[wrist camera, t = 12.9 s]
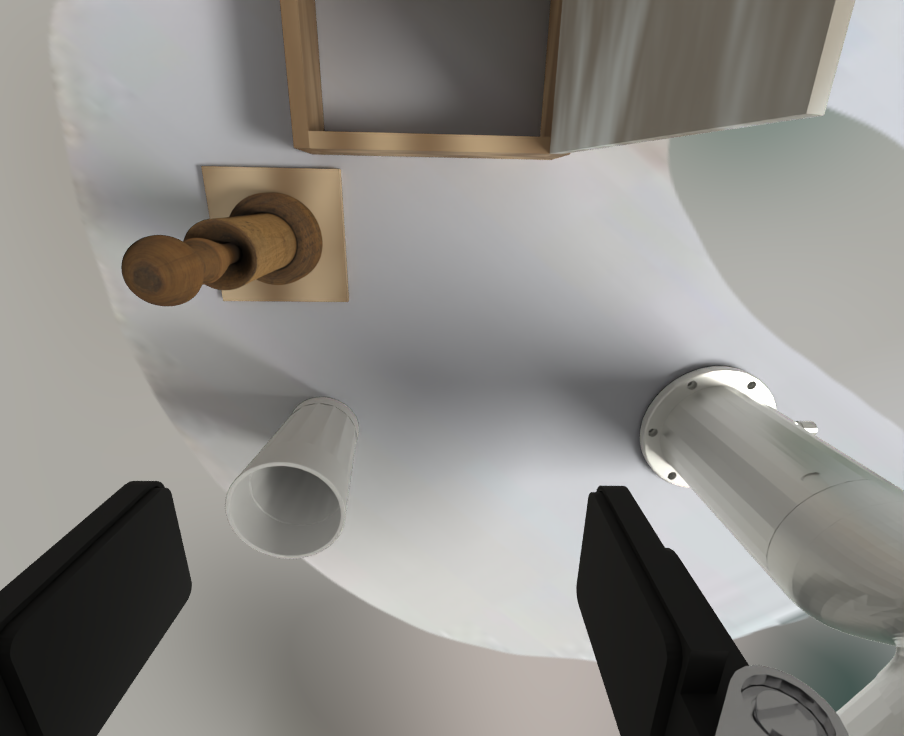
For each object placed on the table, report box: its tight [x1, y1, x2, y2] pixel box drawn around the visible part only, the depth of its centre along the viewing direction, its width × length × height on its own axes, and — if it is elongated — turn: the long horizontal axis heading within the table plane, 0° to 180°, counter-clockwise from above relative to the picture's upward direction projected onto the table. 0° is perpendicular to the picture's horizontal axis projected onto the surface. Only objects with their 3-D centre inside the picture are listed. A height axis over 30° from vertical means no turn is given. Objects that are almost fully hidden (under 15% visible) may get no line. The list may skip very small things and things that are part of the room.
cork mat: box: [201, 166, 349, 302], centre depth 36 cm, size 10×10×1 cm
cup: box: [225, 397, 359, 559], centre depth 36 cm, size 8×8×12 cm
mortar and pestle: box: [121, 193, 323, 306], centre depth 27 cm, size 7×6×18 cm
